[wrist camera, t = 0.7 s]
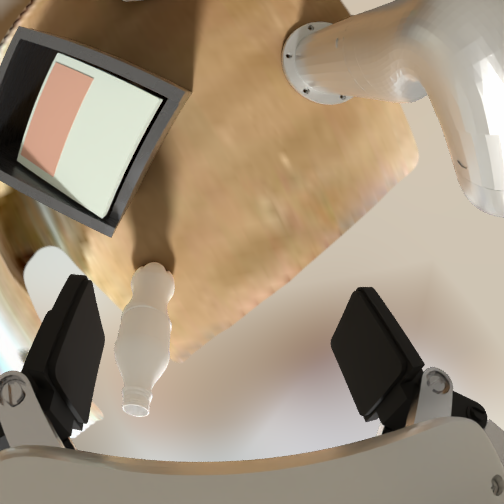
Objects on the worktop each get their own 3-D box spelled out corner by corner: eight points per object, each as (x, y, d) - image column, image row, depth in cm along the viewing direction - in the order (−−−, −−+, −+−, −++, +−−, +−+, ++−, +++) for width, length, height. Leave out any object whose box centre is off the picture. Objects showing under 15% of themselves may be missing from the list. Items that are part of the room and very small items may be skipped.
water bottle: (133, 288, 47) (107, 418, 26) (135, 254, 44) (99, 388, 23) (173, 295, 49) (166, 427, 28) (178, 261, 46) (170, 399, 25)
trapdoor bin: (69, 38, 25) (18, 26, 14) (192, 92, 33) (185, 91, 22) (26, 139, 31) (-28, 164, 19) (136, 193, 39) (111, 237, 28)
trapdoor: (63, 53, 20) (57, 52, 19) (163, 99, 23) (159, 98, 22) (22, 158, 24) (16, 160, 23) (106, 215, 27) (101, 218, 26)
